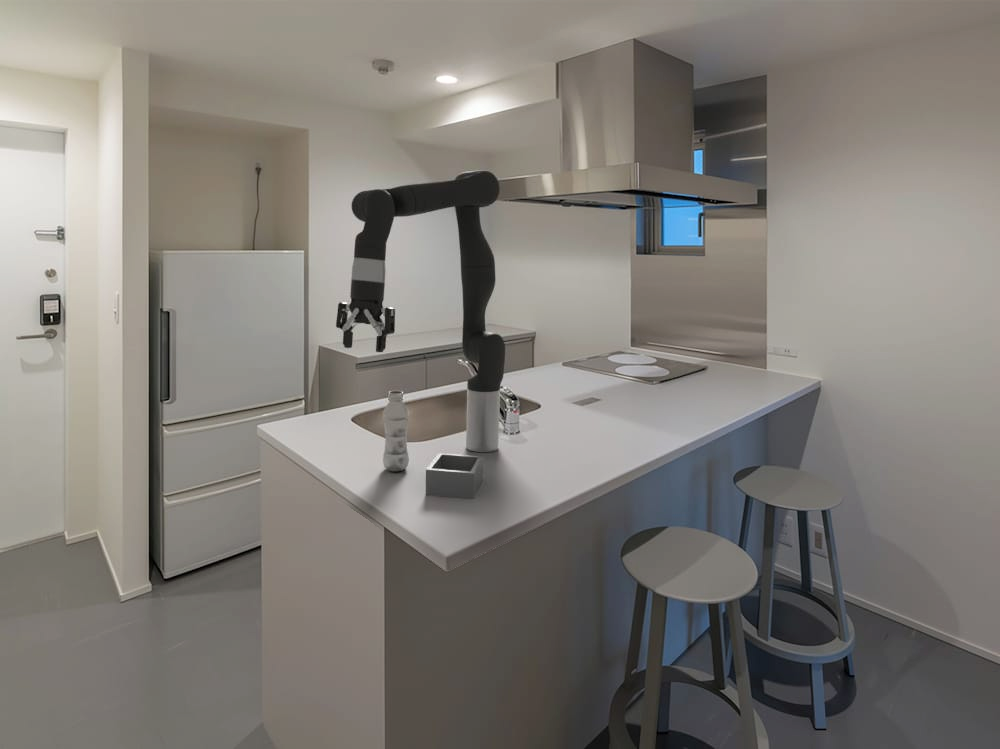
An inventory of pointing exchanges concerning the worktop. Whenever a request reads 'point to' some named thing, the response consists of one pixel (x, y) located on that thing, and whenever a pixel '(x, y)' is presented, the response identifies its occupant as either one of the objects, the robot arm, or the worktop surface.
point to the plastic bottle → (395, 433)
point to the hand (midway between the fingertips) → (363, 349)
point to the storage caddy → (454, 475)
